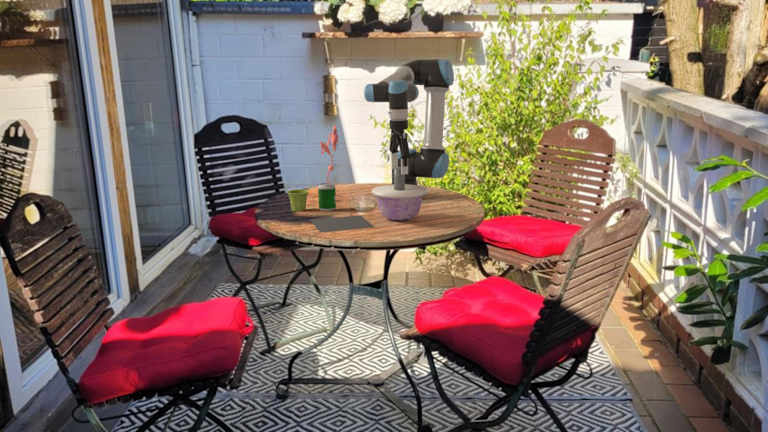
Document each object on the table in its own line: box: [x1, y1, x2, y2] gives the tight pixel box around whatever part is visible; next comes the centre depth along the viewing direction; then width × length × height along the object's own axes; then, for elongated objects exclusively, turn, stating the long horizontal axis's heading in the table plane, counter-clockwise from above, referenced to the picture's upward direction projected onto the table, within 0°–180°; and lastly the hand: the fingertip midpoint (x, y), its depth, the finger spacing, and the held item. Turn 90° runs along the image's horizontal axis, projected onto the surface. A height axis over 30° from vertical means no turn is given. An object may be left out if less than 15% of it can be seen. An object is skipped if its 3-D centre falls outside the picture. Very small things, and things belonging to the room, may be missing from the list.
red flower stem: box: [319, 124, 348, 196], centre depth 336 cm, size 15×26×35 cm, turn 179°
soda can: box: [317, 182, 337, 212], centre depth 313 cm, size 8×8×12 cm
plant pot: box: [286, 189, 309, 213], centre depth 315 cm, size 9×9×9 cm
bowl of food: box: [375, 195, 424, 222], centre depth 295 cm, size 20×20×12 cm
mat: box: [309, 214, 375, 233], centre depth 290 cm, size 22×22×1 cm
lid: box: [371, 167, 429, 198], centre depth 293 cm, size 23×23×10 cm
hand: (399, 171), depth 292 cm, fingers open, 13 cm apart
